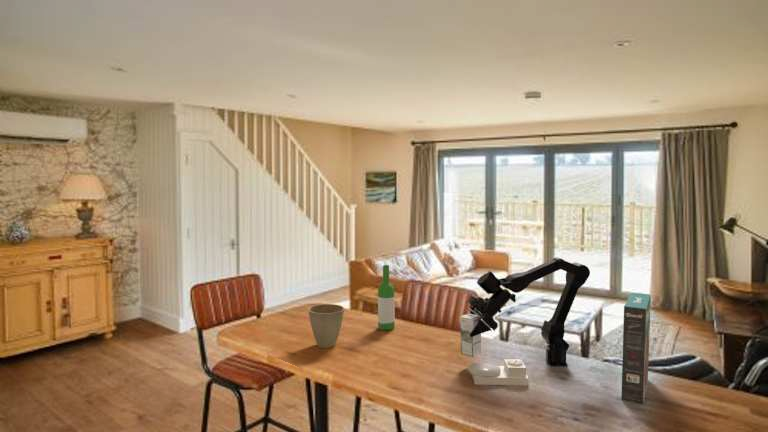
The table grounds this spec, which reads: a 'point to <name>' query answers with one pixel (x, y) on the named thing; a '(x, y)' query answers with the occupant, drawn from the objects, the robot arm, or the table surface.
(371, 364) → the table surface
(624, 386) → the cake mix box
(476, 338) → the syrup box
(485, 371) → the scale
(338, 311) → the plant pot
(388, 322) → the wine bottle
